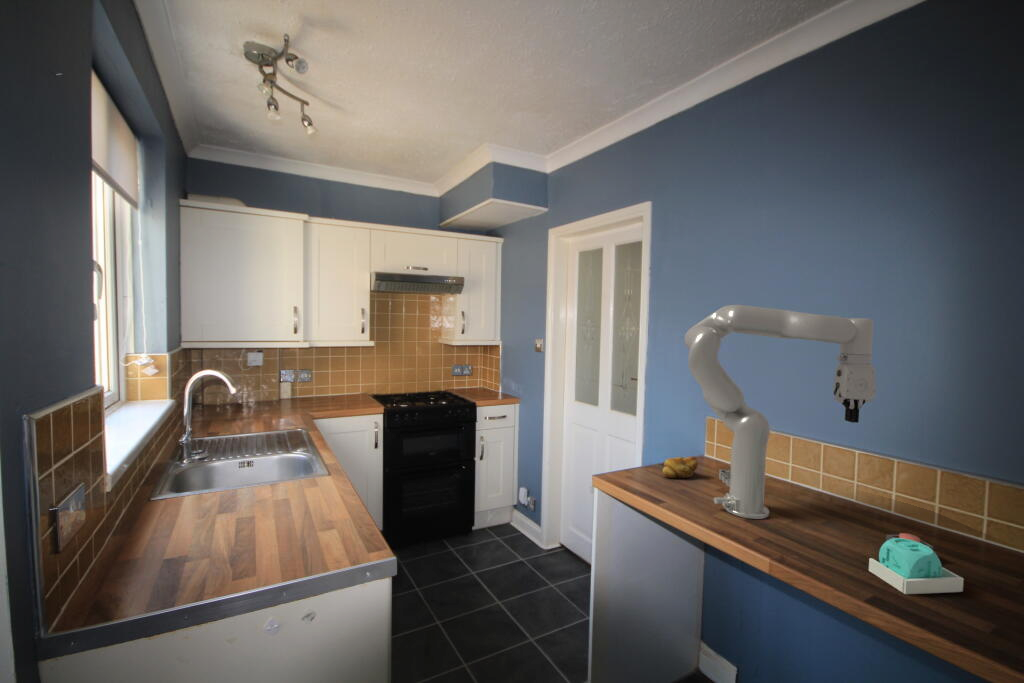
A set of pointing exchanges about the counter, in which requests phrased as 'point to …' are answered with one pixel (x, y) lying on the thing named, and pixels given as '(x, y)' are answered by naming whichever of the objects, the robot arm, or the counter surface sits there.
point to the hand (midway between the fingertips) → (851, 421)
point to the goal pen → (918, 580)
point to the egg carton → (725, 476)
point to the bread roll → (680, 467)
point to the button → (909, 537)
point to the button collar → (898, 537)
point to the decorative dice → (910, 559)
